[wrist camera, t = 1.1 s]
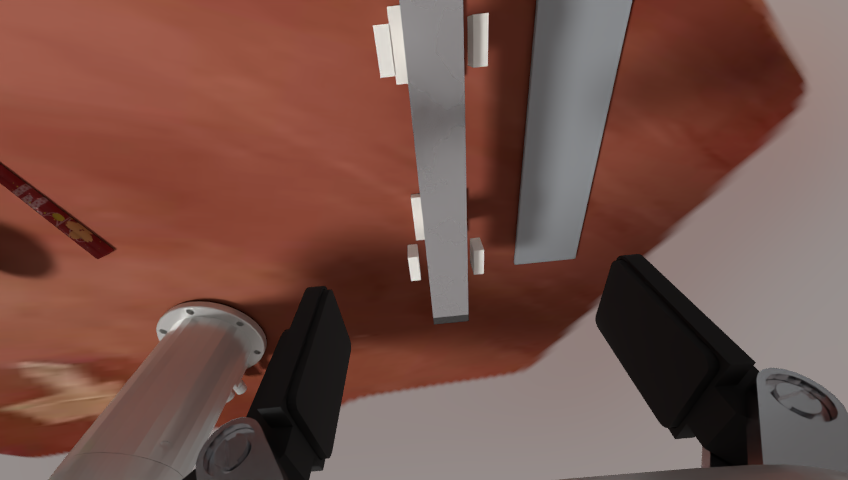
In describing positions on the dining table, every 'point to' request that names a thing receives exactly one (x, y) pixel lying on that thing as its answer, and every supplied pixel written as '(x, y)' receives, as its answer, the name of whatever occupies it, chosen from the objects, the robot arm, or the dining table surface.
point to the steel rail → (440, 145)
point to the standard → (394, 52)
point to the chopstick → (54, 214)
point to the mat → (565, 120)
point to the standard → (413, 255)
